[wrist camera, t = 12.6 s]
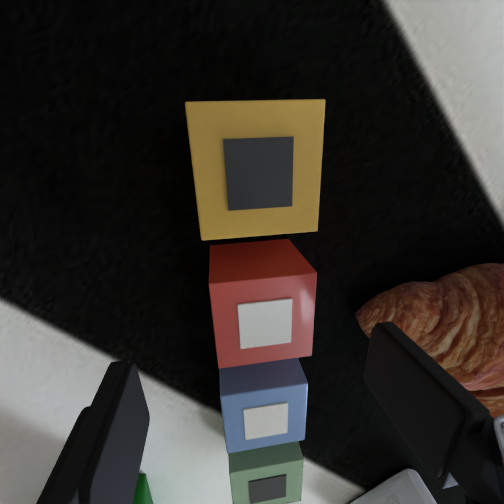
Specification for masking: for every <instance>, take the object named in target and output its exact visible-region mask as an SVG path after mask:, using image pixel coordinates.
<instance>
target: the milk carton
mask: <svg viewBox="0 0 504 504" xmlns="http://www.w3.org/2000/svg"><path fill="white" fill-rule="evenodd" d="M132 504H153V501H152V498H151V494H150V490H149V486H148V482H147V479H146V475H145V474H140V475H138V479H137V484H136V489H135V493H134V498H133V503H132Z"/></svg>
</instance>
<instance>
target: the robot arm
mask: <svg viewBox="0 0 504 504" xmlns="http://www.w3.org/2000/svg"><path fill="white" fill-rule="evenodd" d="M364 379H365V382H366V384H367V386H368V387H369V389H370V390H371V392H372V393H373V395H374V396H375V398H376V399H377V400H378V402H379V403H380V405H381V406H382V408H383V409H384V411H385V412H386V414H387V415H388V416H389V418H390V419H391V421H392V422H393V424H394V425H395V427H396V428H397V430H398V431H399V432H400V434H401V435H402V437H403V438H404V440H405V441H406V443H407V444H408V445H409V447H410V448H411V450H412V451H413V453H414V454H415V456H416V457H417V459H418V460H419V461H420V463H421V464H422V466H423V467H424V469H425V470H426V472H427V473H428V474H429V475H430V476H431V477H433V478H435V479H436V480H437V481H438V483H439V484H440V486H441V487H442V489H443V488H447V487H451V486H455V485H457V484H458V485H459V486H460V487H461V489H462V490H463V491H464V493H465V497H466V504H504V415H500V416H497V417H496V418H495V419H494V418H493V417H492V416H491V415H490V414H489V413H490V410H489V409H487V408H486V407H485V406H484V405H483V404H482V403H481V402H480V401H479V400H478V399H477V398H475V397H474V396H473V395H472V394H471V393H470V392H469V391H468V390H467V389H466V388H464V387H463V386H462V385H461V384H460V383H459V382H458V381H457V380H456V379H455V378H454V377H452V376H451V375H450V374H449V373H448V372H447V371H446V370H445V369H444V368H443V367H441V366H440V365H439V364H438V363H437V362H436V361H435V360H434V359H433V358H432V357H431V356H429V355H428V354H427V353H426V352H425V351H424V350H423V349H422V348H421V347H420V346H418V345H417V344H416V343H415V342H414V341H413V340H412V339H411V338H410V337H409V336H408V335H406V334H405V333H404V332H403V331H402V330H401V329H400V328H399V327H398V326H397V325H395V324H394V323H393V322H391V321H387V322H380V323H376V324H375V326H374V327H373V328H372V330H371V336H370V342H369V348H368V354H367V360H366V366H365V372H364ZM149 420H150V416H149V411H148V407H147V403H146V400H145V396H144V393H143V389H142V385H141V382H140V378H139V374H138V371H137V367H136V364H135V363H132V364H131V362H130V361H129V360H123V361H116V362H111V363H110V365H109V367H108V369H107V371H106V373H105V375H104V378H103V380H102V382H101V384H100V386H99V389H98V391H97V393H96V395H95V397H94V399H93V402H92V404H91V406H88V407H85V408H84V409H83V410H82V411H81V413H80V415H79V416H78V418H77V421H76V423H75V425H74V427H73V429H72V431H71V433H70V435H69V437H68V439H67V441H66V443H65V445H64V447H63V449H62V451H61V454H60V456H59V458H58V460H57V462H56V464H55V466H54V468H53V470H52V472H51V474H50V476H49V478H48V480H47V482H46V484H45V487H44V489H43V491H42V493H41V495H40V497H39V499H38V501H37V503H36V504H132V503H133V498H134V493H135V489H136V484H137V479H138V474H139V470H140V465H141V460H142V456H143V451H144V446H145V441H146V437H147V432H148V427H149Z"/></svg>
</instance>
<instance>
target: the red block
mask: <svg viewBox="0 0 504 504" xmlns="http://www.w3.org/2000/svg"><path fill="white" fill-rule="evenodd" d="M316 279H317V273H316V271H315V270H314V269H313V268H312V267H311V265H310V264H309V263H308V262H307V261H306V260H305V258H304V257H303V256H302V255H301V254H300V252H299V251H298V250H297V249H296V248H295V247H294V245H293V244H292V243H291V242H290V241H289V239H279V240H267V241H256V242H244V243H232V244H220V245H210V262H209V291H210V299H211V308H212V317H213V325H214V334H215V342H216V351H217V359H218V368H227V367H234V366H241V365H248V364H255V363H262V362H269V361H276V360H284V359H291V358H298V357H305V356H311V355H312V341H313V326H314V310H315V295H316Z"/></svg>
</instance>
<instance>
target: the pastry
mask: <svg viewBox="0 0 504 504" xmlns="http://www.w3.org/2000/svg"><path fill="white" fill-rule="evenodd" d="M355 316H356V318H357V320H358V322H359V325H360V327H361V328H362V330H363V332H364V333H365V334H366V335H367V336H368V337H369V339H370V336H371V330H372V328H373V327H374V326H375V324H376V323H380V322H387V321H391V322H393V323H394V324H395V325H397V326H398V327H399V328H400V329H401V330H402V331H403V332H404V333H405V334H406V335H408V336H409V337H410V338H411V339H412V340H413V341H414V342H415V343H416V344H417V345H418V346H420V347H421V348H422V349H423V350H424V351H425V352H426V353H427V354H428V355H429V356H431V357H432V358H433V359H434V360H435V361H436V362H437V363H438V364H439V365H440V366H441V367H443V368H444V369H445V370H446V371H447V372H448V373H449V374H450V375H451V376H452V377H454V378H455V379H456V380H457V381H458V382H459V383H460V384H461V385H462V386H463V387H464V388H466V389H467V390H468V391H469V392H470V393H471V394H472V395H473V396H474V397H475V398H477V399H478V400H479V401H480V402H481V403H482V404H483V405H484V406H485V407H486V408H487V409H489V410H490V413H489V414H490V415H491V416H492V417H493V418H494V419H495V418H496V417H497V416H500V415H504V263H502V264H499V263H485V264H479V265H473V266H468V267H466V268H464V269H461V270H458V271H456V272H454V273H450V274H446V275H444V276H442V277H440V278H438V279H437V280H434V281H433V282H426V281H423V282H415V281H410V282H406V283H402V284H400V285H398V286H396V287H394V288H392V289H390V290H388V291H385V292H382V293H380V294H377V295H376V296H375V297H374V298H373V299H371V300H370V301H367V302H366V303H365V304H364V305H363V306H362V307H361V308H360V309H359V310H358V311H357V312H356V313H355Z"/></svg>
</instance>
